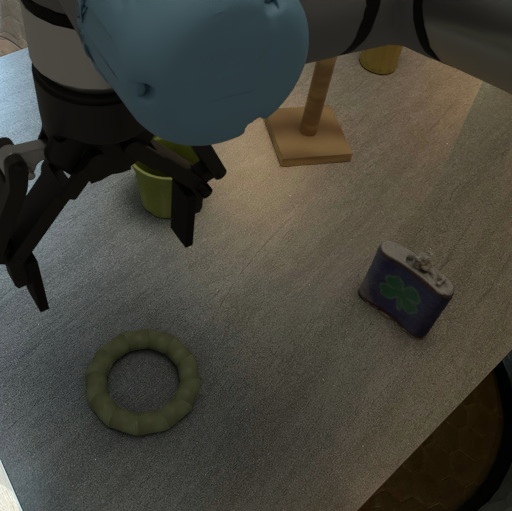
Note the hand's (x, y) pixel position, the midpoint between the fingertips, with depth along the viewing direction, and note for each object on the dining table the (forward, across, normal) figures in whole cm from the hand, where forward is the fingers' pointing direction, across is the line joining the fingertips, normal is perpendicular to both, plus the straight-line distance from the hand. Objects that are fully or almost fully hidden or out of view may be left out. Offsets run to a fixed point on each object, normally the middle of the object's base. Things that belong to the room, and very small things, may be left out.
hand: (113, 266), depth 54 cm
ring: (+13, 0, +5) cm, 14 cm away
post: (+14, -37, -16) cm, 42 cm away
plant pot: (+14, -14, -15) cm, 25 cm away
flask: (+14, -28, +12) cm, 34 cm away
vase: (+14, -58, -25) cm, 65 cm away
